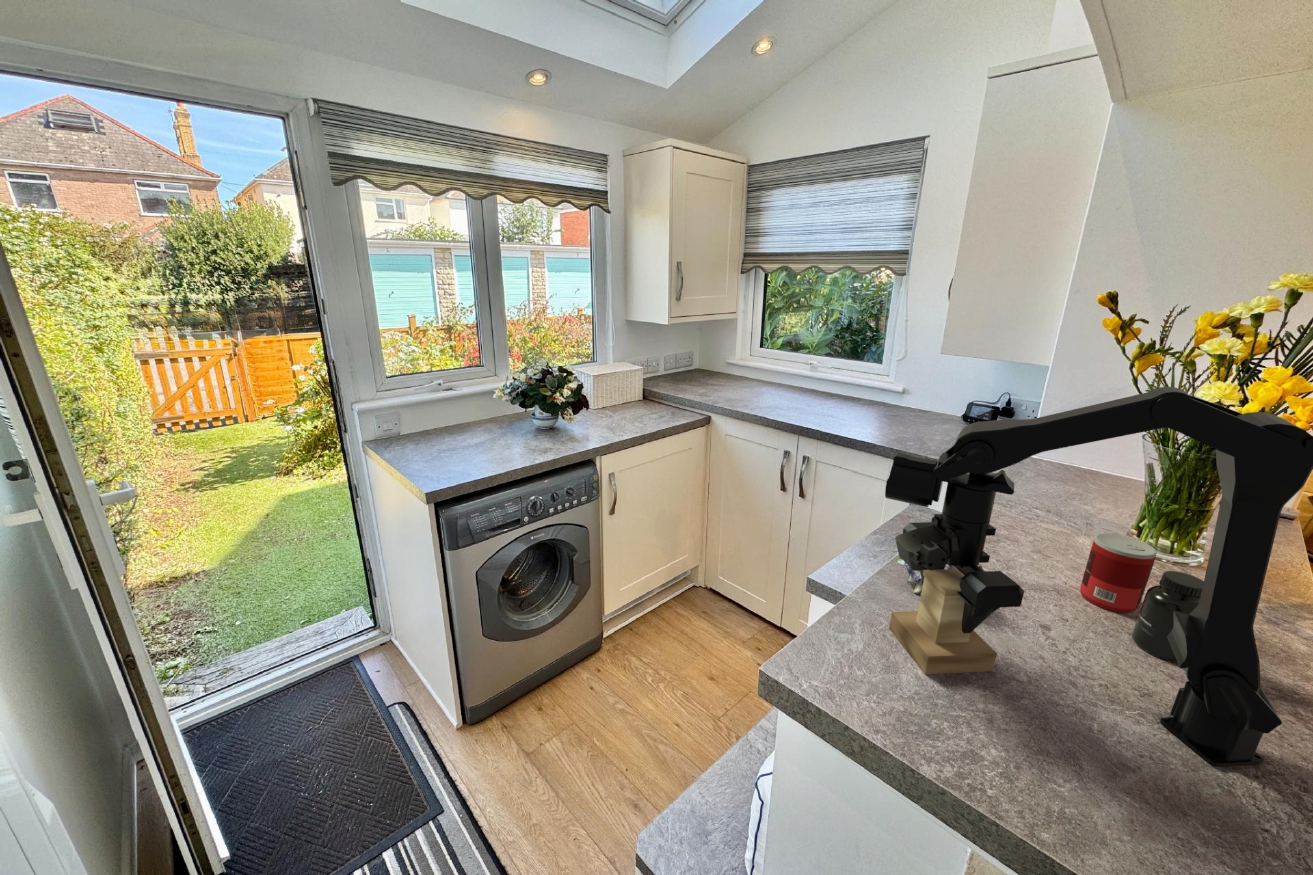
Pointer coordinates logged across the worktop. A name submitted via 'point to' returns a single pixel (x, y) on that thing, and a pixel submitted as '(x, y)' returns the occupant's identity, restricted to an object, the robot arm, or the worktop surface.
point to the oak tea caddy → (942, 606)
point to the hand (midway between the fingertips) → (945, 612)
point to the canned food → (1117, 572)
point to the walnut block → (941, 648)
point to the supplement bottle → (1165, 611)
